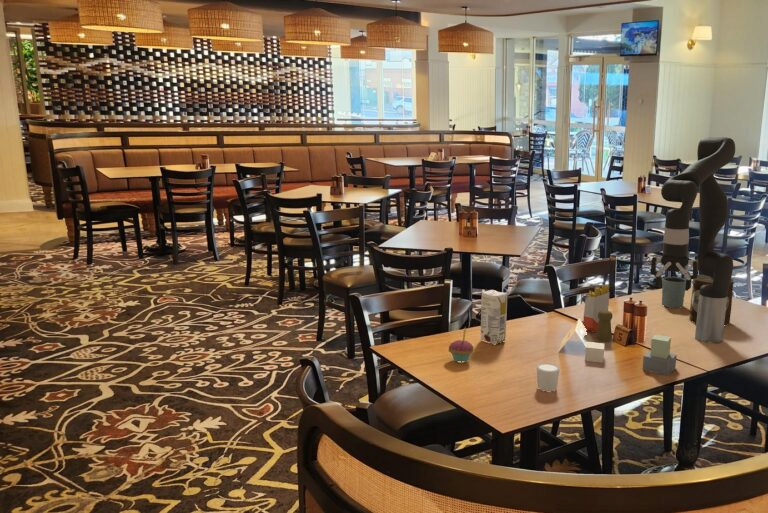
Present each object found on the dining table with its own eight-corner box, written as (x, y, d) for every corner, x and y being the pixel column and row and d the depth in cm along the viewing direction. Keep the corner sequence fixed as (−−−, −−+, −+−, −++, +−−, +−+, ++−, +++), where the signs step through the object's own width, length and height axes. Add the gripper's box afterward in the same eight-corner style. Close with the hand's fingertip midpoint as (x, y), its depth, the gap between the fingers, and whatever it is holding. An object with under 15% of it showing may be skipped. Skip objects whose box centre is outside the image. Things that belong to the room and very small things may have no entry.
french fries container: (581, 331, 251) (584, 287, 247) (596, 325, 258) (599, 282, 254) (592, 334, 247) (595, 289, 243) (607, 328, 254) (610, 284, 250)
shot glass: (532, 384, 202) (533, 363, 200) (553, 383, 202) (555, 362, 201) (539, 393, 195) (540, 371, 193) (561, 392, 196) (562, 371, 194)
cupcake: (459, 354, 227) (459, 322, 225) (478, 360, 222) (479, 327, 219) (443, 360, 222) (443, 327, 219) (462, 367, 216) (463, 333, 213)
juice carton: (495, 346, 235) (497, 296, 231) (477, 340, 241) (478, 292, 237) (508, 341, 240) (510, 293, 236) (490, 336, 246) (491, 288, 242)
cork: (613, 342, 238) (615, 314, 236) (596, 341, 240) (598, 313, 237) (610, 336, 244) (612, 309, 242) (594, 336, 245) (596, 308, 243)
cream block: (585, 355, 226) (586, 341, 225) (603, 357, 224) (604, 343, 223) (584, 361, 221) (585, 347, 220) (603, 363, 219) (604, 349, 218)
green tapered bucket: (662, 308, 280) (665, 281, 277) (657, 301, 290) (659, 276, 287) (687, 309, 278) (690, 282, 276) (681, 302, 288) (683, 276, 286)
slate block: (650, 363, 219) (652, 349, 218) (675, 369, 214) (676, 354, 212) (642, 370, 213) (643, 355, 212) (667, 376, 208) (668, 361, 207)
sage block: (653, 351, 216) (655, 334, 214) (669, 354, 213) (671, 337, 212) (650, 355, 212) (651, 338, 210) (666, 358, 209) (667, 341, 208)
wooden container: (686, 323, 259) (692, 270, 255) (691, 313, 272) (696, 263, 267) (728, 329, 252) (734, 275, 247) (730, 319, 264) (736, 267, 259)
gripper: (701, 240, 209) (698, 288, 213) (655, 237, 217) (652, 283, 220) (698, 245, 203) (694, 294, 207) (650, 241, 211) (647, 288, 214)
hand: (672, 288), depth 214 cm, fingers open, 8 cm apart
